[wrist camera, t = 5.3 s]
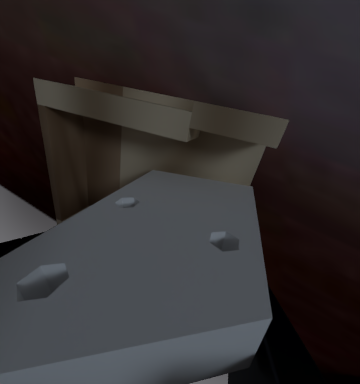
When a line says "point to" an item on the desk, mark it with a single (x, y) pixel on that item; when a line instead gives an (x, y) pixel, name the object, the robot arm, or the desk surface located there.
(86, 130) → the slotted track
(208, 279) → the white wedge bracket
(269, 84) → the desk surface
